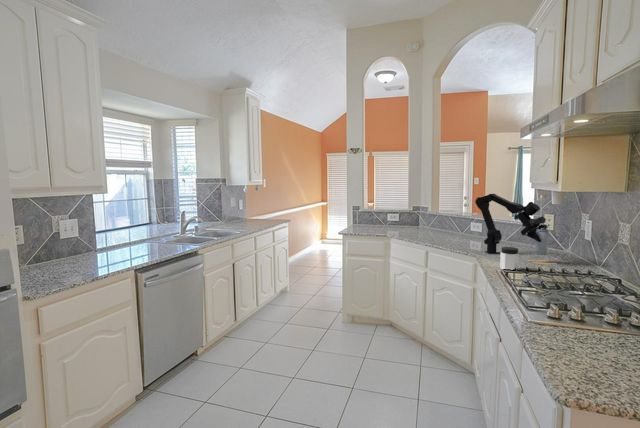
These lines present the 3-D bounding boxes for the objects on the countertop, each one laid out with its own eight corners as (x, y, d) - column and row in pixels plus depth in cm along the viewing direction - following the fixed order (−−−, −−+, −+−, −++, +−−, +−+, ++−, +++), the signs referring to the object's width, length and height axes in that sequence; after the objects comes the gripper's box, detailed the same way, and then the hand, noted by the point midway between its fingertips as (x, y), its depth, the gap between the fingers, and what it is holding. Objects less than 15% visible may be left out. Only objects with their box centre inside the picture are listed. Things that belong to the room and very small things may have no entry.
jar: (512, 272, 189) (513, 250, 188) (497, 269, 196) (498, 248, 195) (520, 269, 194) (521, 248, 193) (506, 266, 201) (506, 246, 199)
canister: (532, 252, 211) (534, 227, 208) (542, 252, 211) (544, 227, 209) (538, 255, 204) (541, 228, 202) (549, 255, 205) (551, 228, 202)
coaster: (525, 260, 213) (525, 259, 213) (544, 260, 214) (544, 259, 214) (538, 265, 201) (538, 264, 201) (558, 265, 202) (558, 264, 202)
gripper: (526, 213, 204) (545, 234, 195) (545, 211, 213) (563, 231, 204) (513, 224, 212) (530, 245, 203) (531, 222, 220) (549, 242, 212)
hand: (543, 241), depth 205 cm, fingers closed on canister, 6 cm apart
